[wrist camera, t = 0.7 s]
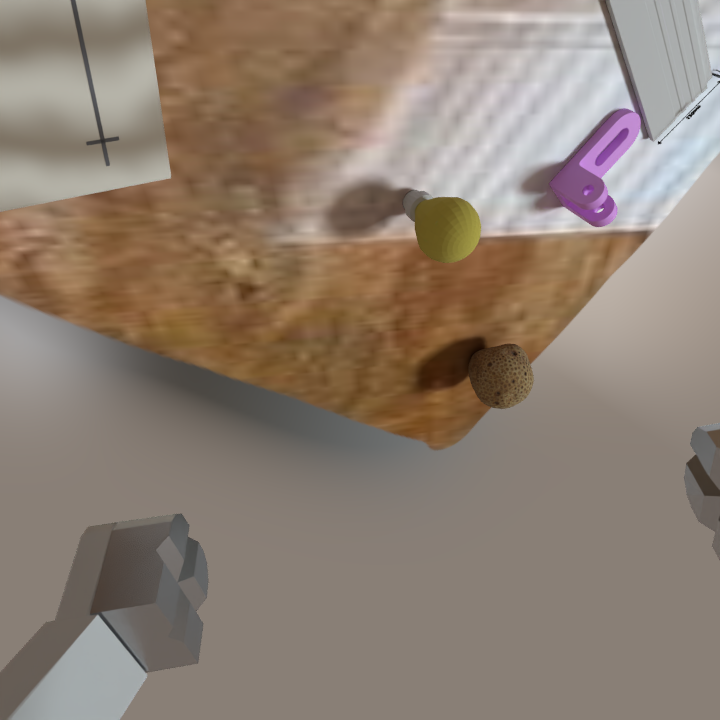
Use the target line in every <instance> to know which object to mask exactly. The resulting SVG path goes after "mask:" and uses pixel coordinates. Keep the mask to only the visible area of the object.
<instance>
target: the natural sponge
mask: <svg viewBox="0 0 720 720" xmlns="http://www.w3.org/2000/svg"><path fill="white" fill-rule="evenodd" d="M468 372H469V377H470V381H471V384H472V387H473V389H474V391H475V393H476V395H477V396H478V398H479V399H480V400H481V401H482V402H483V403H484V404H486V405H487V406H490V407H493V408H500V409H505V408H510V407H512V406H514V405H516V404H518V403H520V402H521V401H523V400H524V399H525V398H526V397H527V395H528V394H529V393H530V391H531V388H532V385H533V373H532V369H531V366H530V362H529V359H528V357H527V354H526V353H525V352H524V350H523V349H522V348H520V347H519V346H518V345H516V344H504V345H501V346H497V347H491V348H486V349H482V350H479V351H477V352H476V353H475V354H473V356H472V357H471V359H470V362H469V368H468Z"/></svg>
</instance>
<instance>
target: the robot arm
mask: <svg viewBox="0 0 720 720" xmlns="http://www.w3.org/2000/svg"><path fill="white" fill-rule="evenodd" d="M690 444H691V447H692V448H693V450H694V452H695V453H696V455H695V456H694V457H693V458H692V459H690V460H689V461H688V462H687V463H686V469H685V476H684V480H685V485H686V492H687V496H688V499H689V502H690V504H691V508H692V509H693V511H694V513H695V515H696V517H697V519H698V521H699V522H700V523H702V524H704V525H705V526H707V527H708V528H710V529H712V530H713V531H715V536H714V541H713V544H712V547H713V549H714V550H715V552H716V554H717V556H718V557H719V559H720V423H718V424H712V425H707V426H702V427H697V428H696V429H695V431H694V432H693V433H692V438H691V443H690ZM188 532H189V524H188V523H187V521H186V520H185V518H184V516H183V515H182V514H173V515H166V516H158V517H151V518H145V519H137V520H129V521H122V522H117V523H110V524H103V525H96V526H90V527H88V528H87V529H86V530H85V532H84V533H83V534H82V536H81V538H80V541H79V545H78V548H77V551H76V554H75V557H74V560H73V564H72V567H71V570H70V573H69V576H68V580H67V583H66V586H65V589H64V592H63V596H62V599H61V602H60V605H59V608H58V612H57V615H56V618H55V621H51V622H46V623H45V624H44V625H43V626H42V627H41V628H40V629H39V630H38V631H37V633H36V634H35V635H34V636H33V637H32V638H31V639H30V640H29V641H28V642H27V643H26V645H25V646H24V647H23V648H22V649H21V650H20V651H19V652H18V654H16V655H15V657H14V658H13V659H12V660H11V661H10V662H9V663H8V664H7V665H6V667H5V668H4V669H3V670H2V671H1V672H0V720H120V718H121V717H122V715H123V713H124V712H125V710H126V709H127V707H128V706H129V704H130V702H131V701H132V699H133V698H134V696H135V695H136V693H137V691H138V690H139V688H140V687H141V685H142V684H143V682H144V680H145V679H146V677H147V674H146V672H152V671H158V670H163V669H169V668H175V667H181V666H186V665H192V664H197V663H198V660H199V653H200V645H201V638H202V631H203V622H202V621H201V619H200V618H199V616H198V614H197V613H196V611H197V610H198V608H199V607H200V606H201V605H202V603H203V602H204V601H205V599H206V598H207V590H208V569H207V562H206V558H205V555H204V551H203V549H202V547H201V546H200V544H199V542H198V541H195V540H193V539H191V538H189V537H188Z"/></svg>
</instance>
